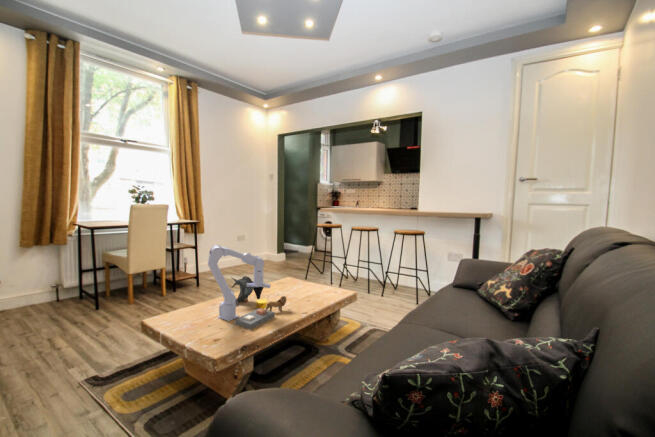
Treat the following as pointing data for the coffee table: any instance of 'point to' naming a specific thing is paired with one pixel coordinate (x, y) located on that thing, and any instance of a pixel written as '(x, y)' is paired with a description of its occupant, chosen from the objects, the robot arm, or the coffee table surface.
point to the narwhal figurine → (243, 289)
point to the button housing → (256, 321)
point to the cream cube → (249, 318)
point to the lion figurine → (277, 303)
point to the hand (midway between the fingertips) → (258, 298)
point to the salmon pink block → (261, 311)
